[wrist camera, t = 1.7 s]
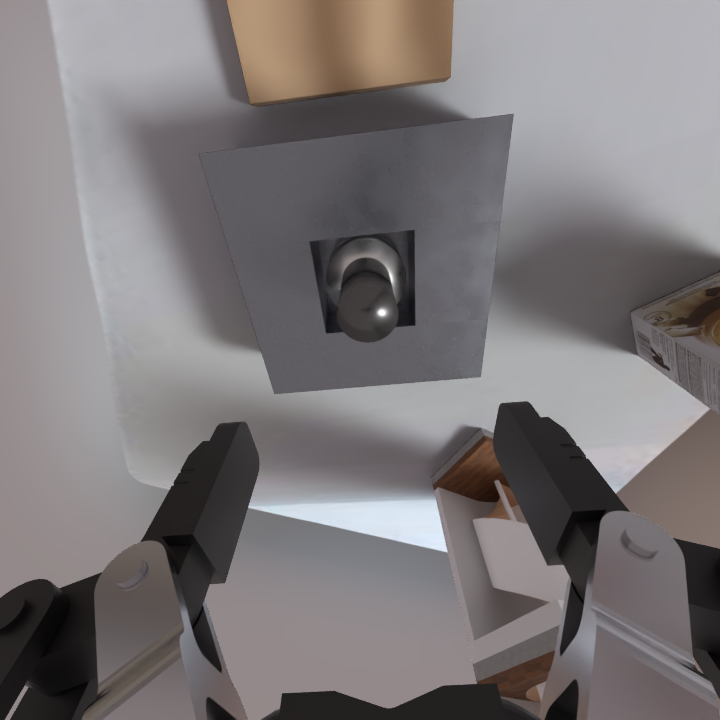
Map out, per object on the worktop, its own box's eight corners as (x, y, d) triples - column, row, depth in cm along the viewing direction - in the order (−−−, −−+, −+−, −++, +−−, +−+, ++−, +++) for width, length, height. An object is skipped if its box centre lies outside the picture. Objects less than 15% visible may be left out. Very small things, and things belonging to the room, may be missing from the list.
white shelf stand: (550, 457, 42) (1002, 1178, 12) (495, 500, 47) (725, 1084, 17) (481, 428, 39) (857, 1277, 9) (431, 477, 44) (575, 1129, 15)
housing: (479, 122, 23) (513, 113, 18) (461, 342, 32) (480, 376, 27) (232, 153, 24) (198, 153, 19) (287, 357, 33) (274, 394, 28)
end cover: (400, 227, 25) (419, 259, 17) (402, 300, 28) (419, 354, 20) (323, 235, 25) (307, 270, 17) (334, 306, 28) (325, 362, 21)
